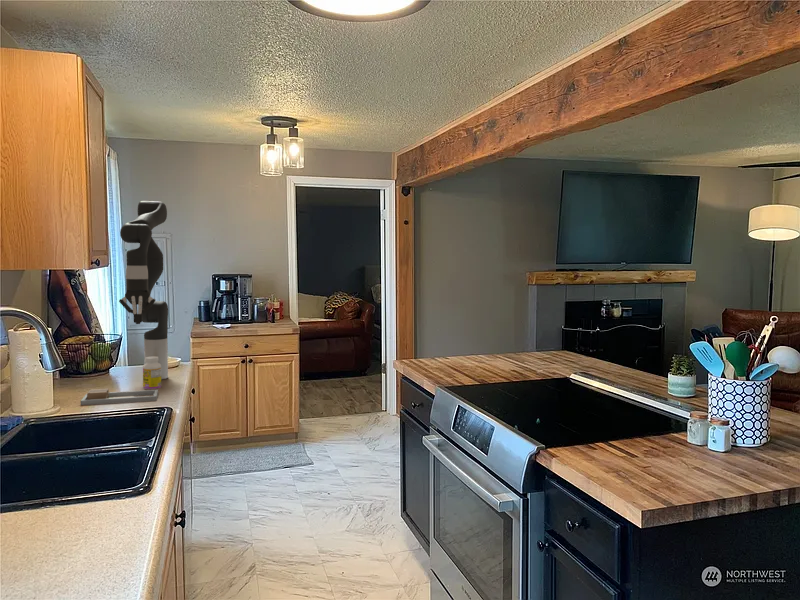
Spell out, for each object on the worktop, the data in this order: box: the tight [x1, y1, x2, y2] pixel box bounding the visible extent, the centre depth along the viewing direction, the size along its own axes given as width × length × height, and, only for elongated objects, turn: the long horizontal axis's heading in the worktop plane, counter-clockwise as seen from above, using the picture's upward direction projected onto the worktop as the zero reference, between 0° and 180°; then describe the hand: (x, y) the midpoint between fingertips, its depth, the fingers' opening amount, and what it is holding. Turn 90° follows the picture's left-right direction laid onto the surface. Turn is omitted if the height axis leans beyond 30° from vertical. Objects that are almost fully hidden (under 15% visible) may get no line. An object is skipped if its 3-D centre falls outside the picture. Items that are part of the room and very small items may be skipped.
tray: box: [80, 389, 159, 406], centre depth 210 cm, size 11×24×2 cm, turn 109°
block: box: [86, 388, 110, 400], centre depth 207 cm, size 6×6×4 cm
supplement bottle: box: [142, 356, 162, 390], centre depth 229 cm, size 7×7×13 cm
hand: (137, 323), depth 219 cm, fingers closed
